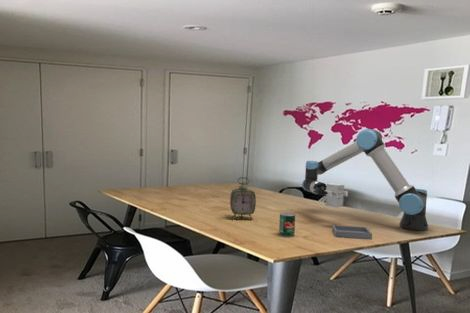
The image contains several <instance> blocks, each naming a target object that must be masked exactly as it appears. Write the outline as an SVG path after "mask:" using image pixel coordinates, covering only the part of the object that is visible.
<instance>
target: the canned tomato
mask: <svg viewBox="0 0 470 313" xmlns="http://www.w3.org/2000/svg"><path fill="white" fill-rule="evenodd" d="M295 225H296V214H295V213H292V212H280V213H279V226H278V227H279V229H278V235H279V236H280V237H281V238H282V237H283V238H293V237H295V231H296V230H295V229H296V226H295Z"/></svg>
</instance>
